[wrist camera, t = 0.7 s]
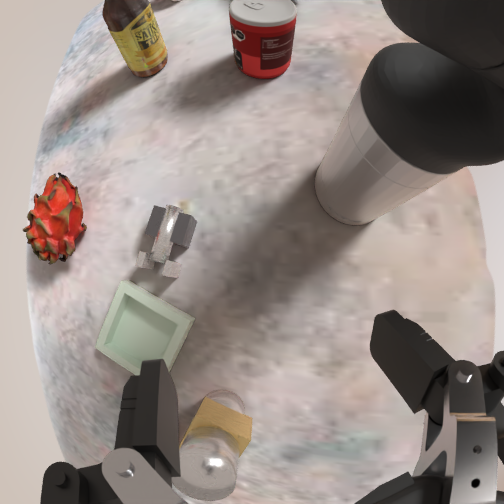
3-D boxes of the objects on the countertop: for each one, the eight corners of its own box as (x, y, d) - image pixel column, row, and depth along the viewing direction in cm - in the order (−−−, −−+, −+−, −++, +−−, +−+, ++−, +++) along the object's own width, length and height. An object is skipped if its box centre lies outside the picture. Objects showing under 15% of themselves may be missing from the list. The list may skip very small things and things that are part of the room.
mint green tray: (130, 280, 32) (121, 280, 30) (195, 318, 31) (190, 321, 29) (104, 343, 31) (94, 347, 29) (164, 382, 31) (158, 388, 28)
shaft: (179, 278, 32) (170, 277, 28) (145, 266, 32) (133, 264, 29) (198, 218, 32) (191, 210, 29) (164, 208, 33) (154, 200, 29)
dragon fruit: (71, 274, 34) (82, 193, 37) (91, 265, 29) (104, 171, 32) (16, 264, 27) (32, 179, 30) (23, 252, 22) (46, 151, 25)
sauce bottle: (160, 79, 35) (112, -23, 15) (125, 79, 35) (70, -10, 15) (176, 50, 35) (142, -48, 16) (142, 50, 36) (100, -37, 16)
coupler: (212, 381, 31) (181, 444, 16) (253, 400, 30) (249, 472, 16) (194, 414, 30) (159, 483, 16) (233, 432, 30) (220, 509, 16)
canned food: (243, 42, 35) (240, -12, 24) (295, 51, 35) (302, -3, 24) (227, 74, 35) (218, 18, 24) (283, 85, 34) (289, 28, 23)
